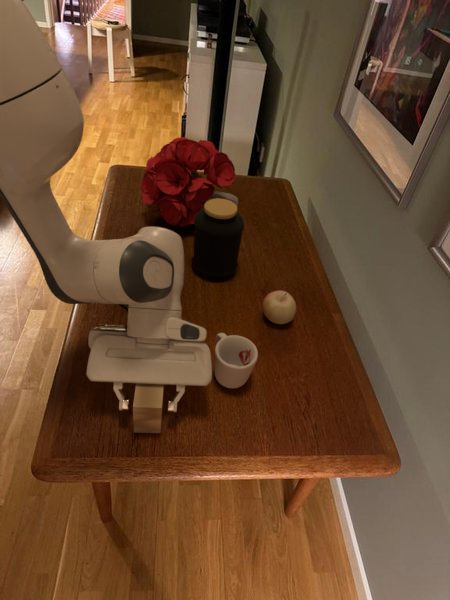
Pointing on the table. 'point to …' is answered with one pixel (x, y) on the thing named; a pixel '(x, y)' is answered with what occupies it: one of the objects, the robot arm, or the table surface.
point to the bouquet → (186, 179)
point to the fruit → (279, 307)
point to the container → (217, 238)
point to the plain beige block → (148, 408)
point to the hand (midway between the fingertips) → (148, 410)
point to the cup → (234, 360)
